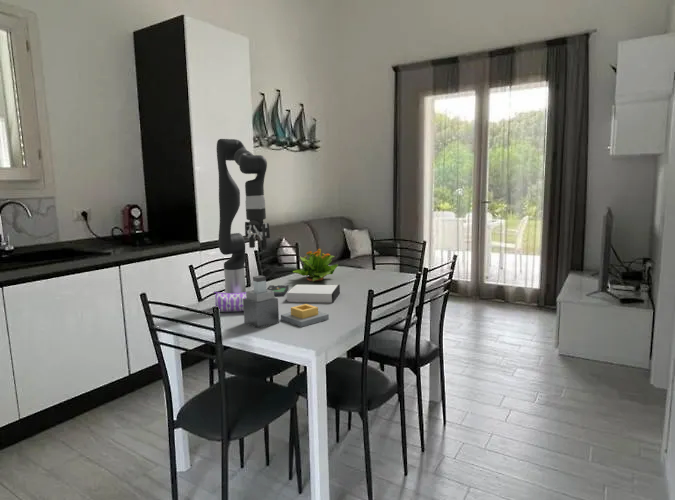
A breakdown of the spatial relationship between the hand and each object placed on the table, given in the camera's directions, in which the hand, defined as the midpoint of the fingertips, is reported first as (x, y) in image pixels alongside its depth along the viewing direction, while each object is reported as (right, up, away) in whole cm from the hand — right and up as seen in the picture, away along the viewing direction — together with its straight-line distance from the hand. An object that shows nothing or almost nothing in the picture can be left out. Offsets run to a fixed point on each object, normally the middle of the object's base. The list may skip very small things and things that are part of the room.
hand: (257, 248), depth 179 cm
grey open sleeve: (+1, -30, +5) cm, 30 cm away
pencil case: (-12, -28, +23) cm, 38 cm away
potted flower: (+18, -18, +84) cm, 88 cm away
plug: (0, -20, +3) cm, 20 cm away
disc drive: (+20, -24, +43) cm, 53 cm away
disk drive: (0, -23, +54) cm, 59 cm away
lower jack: (+18, -29, +8) cm, 35 cm away
